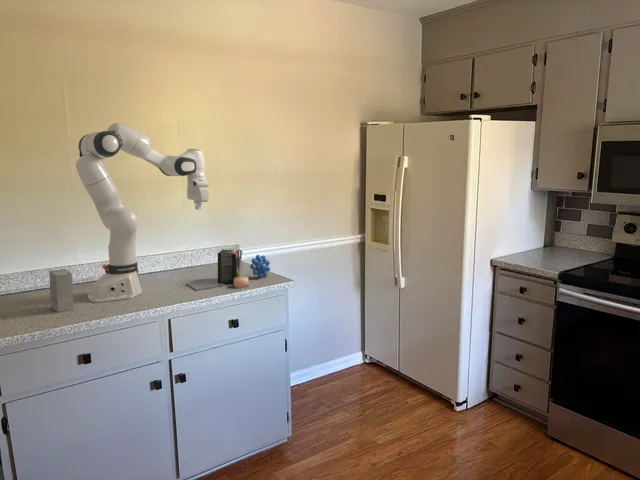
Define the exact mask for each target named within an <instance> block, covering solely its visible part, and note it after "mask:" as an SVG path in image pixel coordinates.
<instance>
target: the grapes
mask: <svg viewBox="0 0 640 480" xmlns="http://www.w3.org/2000/svg"><path fill="white" fill-rule="evenodd" d="M270 264H271V262H270V260H269V259H267V257H266V256H265V255H260V254H256V256H255V257H253V258H251V264H250V266H249V267H250V269H251V270H252V274H253V275H254V276H257V277H258V278H260V279H261V278H263V277H267V276H268V274H269V272H270V270H271V267H270Z"/></svg>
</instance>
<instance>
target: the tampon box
mask: <svg viewBox="0 0 640 480" xmlns="http://www.w3.org/2000/svg"><path fill="white" fill-rule="evenodd" d="M240 263H241V250H240V249H239V250H238V249H237V250H235V249H221V250H220V251H218V252H217V280H218V282H222V283H224V284H234V278H235V277H240V276H241V275H240V274H241V270H240V269H241V268H240V266H241V265H240Z"/></svg>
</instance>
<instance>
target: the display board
mask: <svg viewBox="0 0 640 480" xmlns="http://www.w3.org/2000/svg"><path fill="white" fill-rule="evenodd" d="M186 286H188V287H190V288H191V289H193V290H195V291H203V290H209V289H210V290H211V289H215V288H221V287H225V286H226V283H222V282H218V279H216V278H212V279H204V280H200V281H193V282H187V283H186Z"/></svg>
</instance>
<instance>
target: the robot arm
mask: <svg viewBox="0 0 640 480" xmlns="http://www.w3.org/2000/svg"><path fill="white" fill-rule="evenodd" d="M120 150H121V151H122V152H123V153H126V154H128V155H131V156H133V157H135V158H139V159H142V160H144V161H146V162H148V163H149V164H152V165H154V166H155V167H156V168H157V169H158V170H159V171H160V172H161V173H162V174H163V175H165V176H166V177H187V178H186V179H187V187H186V194H187V195H186V197H187V199H188V200H191V201H193V203H194V207H195V210H197V211H200V210H201V209H202V203H207V202H209V199H210V198H209V196H210V195H209V194H210V192H209V190H210V189H209V187H210V182H209V181H208V180H207V177H206V174H205V173H206V172H205V169H206V164H205V162H206V161H205V155H204V152H203V151H202V150H200V149H197V148H195V149H194V148H189V149H187V150H186V151H185V152H183V153H181V154H179V155H176V156H175V155H165V154H162V153H160V152H159V151H158V150H157V151H156V150H155V149H153V148H152V142H151V139H150V137H148V136H147V135H146V134H144V133H143V132H141V131H139V130H137V129H136V128H133V127H132V126H128V125H126V124H123V123H121V122H114V123H112V124H110V125H109V127H108V128H107V129H106V130H103V131H94V132H90V133H87V134H85V135H84V136H82V137H81V138H80V140H79V141H78V151H79V158H78V159H77V160H76V162H75V168H76V171H77V174H78V176H79V179H80V181H81V182H82V185H83V186H84V188H85V190H86V191H87V193H88V195H89V197H90V199H91V200H92V202H93V204H94V207H95V208H96V210H97V213H98V216H99V217H100V220H101V222H102V224H103V226H104V227H105V228H106V229H108V230H109V243H108V246H107V248H108V250H107V251H108V259H109V260H108V261H109V264H104V263H103V264H102V269H103V270H104V271H105V272H104V274H103V275H101V277H99V278H98V279H97V280H96V281H94V283H93V285H92V286H93V287H92V292H89V293H88V294H87V299H88V301H89V302H92V303H104V302H112V301H113V302H114V301H120V300H121V301H122V300H130V299H134V298H135V297H136V296H139V295H141V294H142V293H143V289H142V288H141V284H140V281H139V275H138V274H139V265H138V262H137V256H136V240H137V239H136V237H137V231H138V230H137V229H138V227H139V219H138V216H137V215H136V214H135V213H134V212H133V211H132V210H130V209H127V208H125V207H124V205H123V202H122V199H121V196H120V192H119V189H118V188H117V186H116V184H115V182H114V180H113V179H112V177H111V175H110V173H109V171H108V170H107V168H106V164H105V159H107V158H111V157H114V156H115V155H116V154H118V153H119V151H120Z"/></svg>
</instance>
